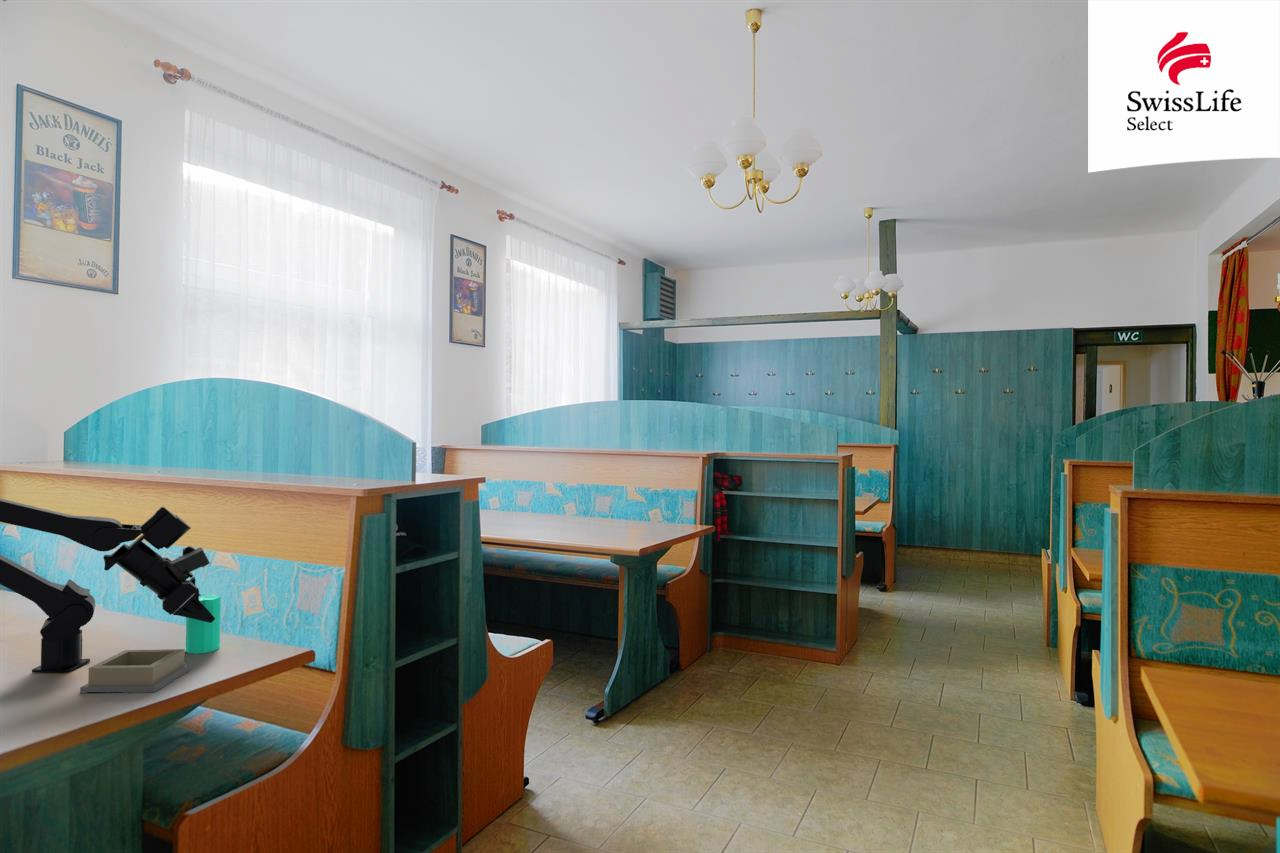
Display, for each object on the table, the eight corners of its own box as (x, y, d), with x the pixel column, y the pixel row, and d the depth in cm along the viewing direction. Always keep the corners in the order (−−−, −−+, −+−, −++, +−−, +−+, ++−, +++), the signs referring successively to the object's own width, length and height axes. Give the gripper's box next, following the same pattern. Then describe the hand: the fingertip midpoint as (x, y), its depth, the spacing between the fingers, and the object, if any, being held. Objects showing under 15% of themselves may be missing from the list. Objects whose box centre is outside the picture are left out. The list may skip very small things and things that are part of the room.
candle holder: (154, 692, 126) (155, 668, 126) (80, 693, 125) (80, 669, 125) (190, 669, 138) (191, 647, 138) (122, 670, 137) (123, 648, 137)
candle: (221, 650, 150) (222, 591, 150) (186, 655, 147) (187, 594, 147) (218, 643, 155) (219, 585, 155) (184, 647, 152) (186, 589, 152)
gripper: (184, 542, 141) (248, 593, 147) (180, 530, 157) (238, 577, 163) (133, 587, 137) (202, 639, 143) (134, 570, 152) (196, 617, 158)
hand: (211, 615), depth 152 cm, fingers open, 9 cm apart
